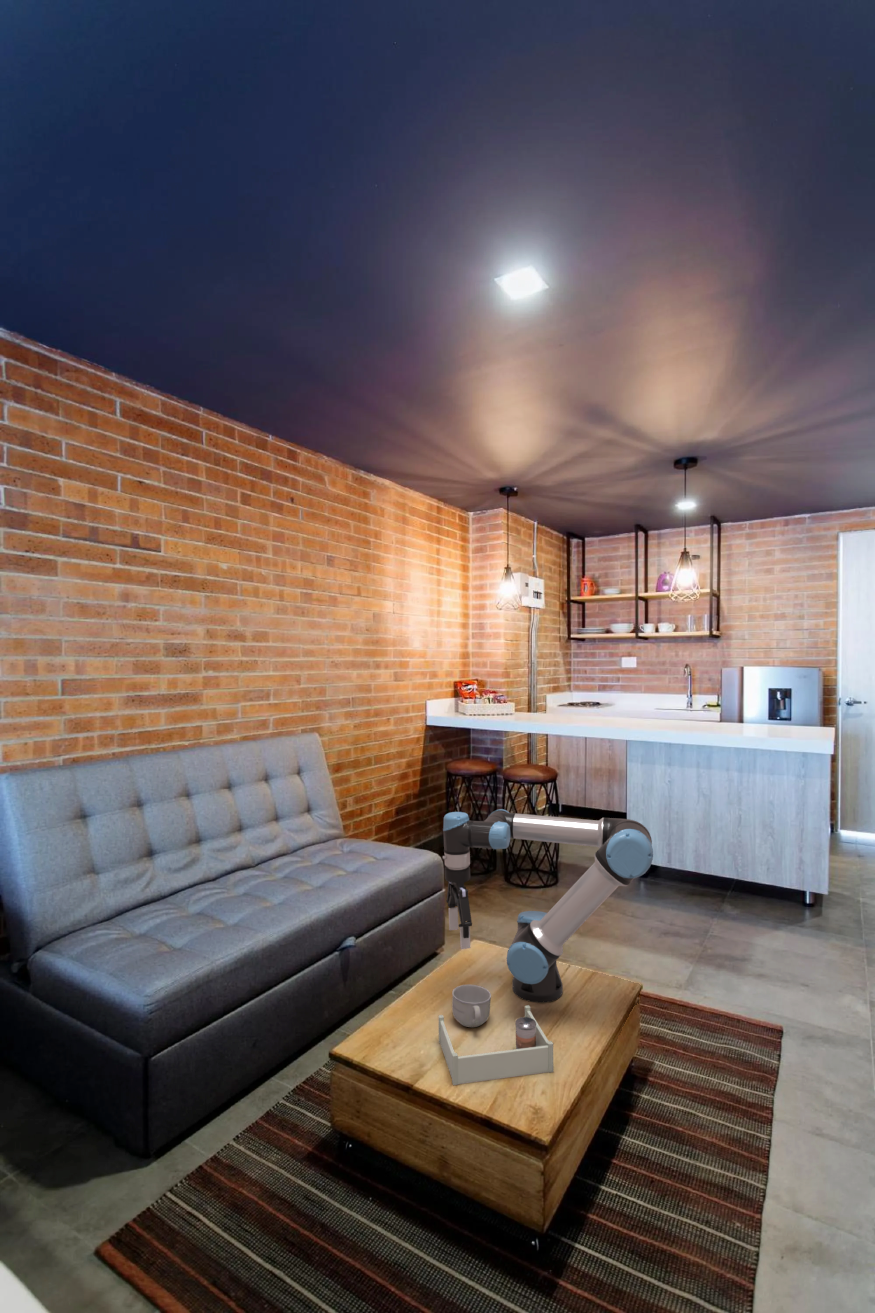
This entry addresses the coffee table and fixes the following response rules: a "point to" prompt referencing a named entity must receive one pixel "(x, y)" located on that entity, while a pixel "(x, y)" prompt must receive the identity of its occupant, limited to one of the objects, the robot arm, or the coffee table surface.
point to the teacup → (471, 1005)
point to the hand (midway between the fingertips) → (459, 938)
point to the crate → (497, 1059)
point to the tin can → (525, 1032)
